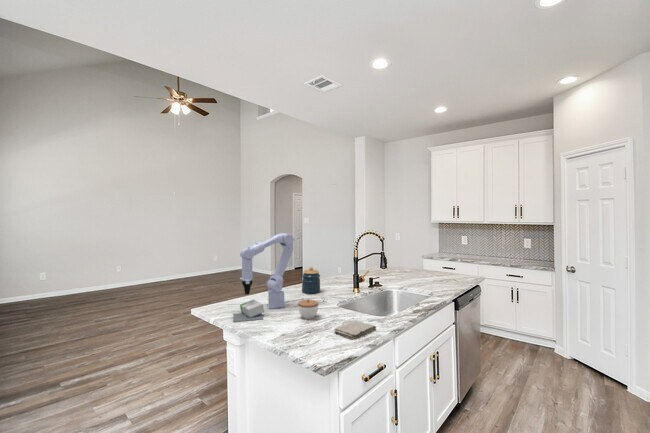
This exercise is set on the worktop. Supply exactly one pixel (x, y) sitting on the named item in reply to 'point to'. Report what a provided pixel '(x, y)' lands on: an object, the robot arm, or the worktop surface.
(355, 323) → the washcloth
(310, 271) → the canister
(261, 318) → the mat
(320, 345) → the worktop surface
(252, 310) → the ink box
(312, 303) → the lidded jar
